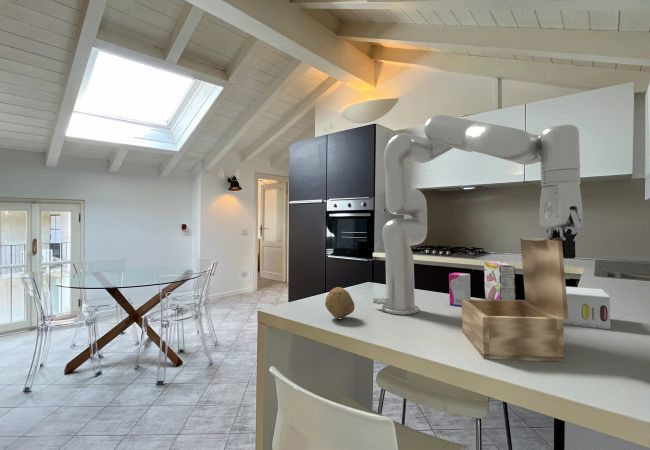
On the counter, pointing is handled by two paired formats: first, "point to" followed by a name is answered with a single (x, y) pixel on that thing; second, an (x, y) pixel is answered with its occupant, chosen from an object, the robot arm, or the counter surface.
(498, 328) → the wooden box
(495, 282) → the candy bar box
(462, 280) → the supplement box
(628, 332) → the counter surface
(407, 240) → the robot arm
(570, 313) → the supplement box
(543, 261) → the wooden box lid
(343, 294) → the brown potato
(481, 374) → the counter surface
